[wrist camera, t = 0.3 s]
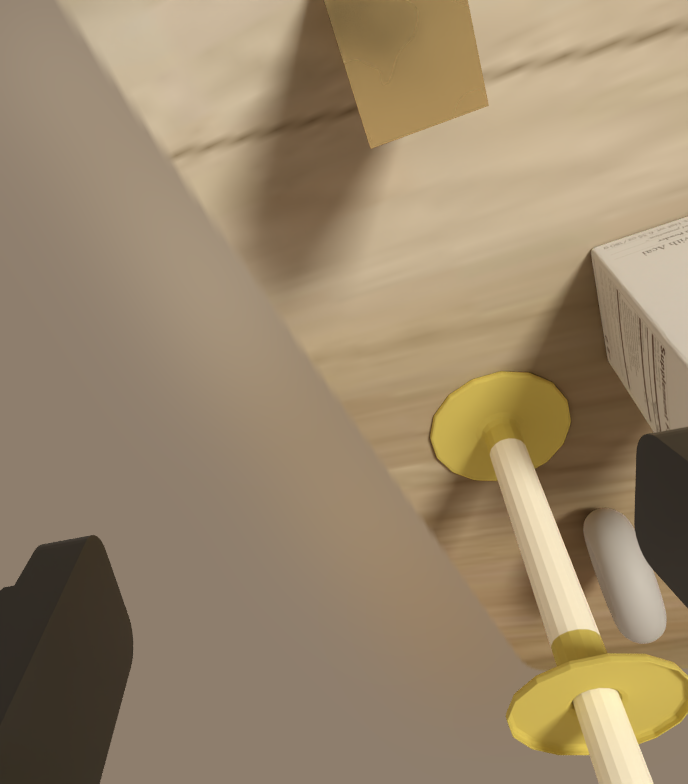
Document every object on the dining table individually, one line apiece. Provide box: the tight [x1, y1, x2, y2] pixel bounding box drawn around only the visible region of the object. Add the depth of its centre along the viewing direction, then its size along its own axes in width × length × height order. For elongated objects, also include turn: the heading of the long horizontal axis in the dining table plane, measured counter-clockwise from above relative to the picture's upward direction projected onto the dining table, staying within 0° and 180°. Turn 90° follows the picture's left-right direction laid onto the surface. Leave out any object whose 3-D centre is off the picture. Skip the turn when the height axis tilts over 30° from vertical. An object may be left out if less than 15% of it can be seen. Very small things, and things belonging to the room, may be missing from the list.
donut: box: [583, 508, 666, 643], centre depth 48 cm, size 10×4×10 cm, turn 22°
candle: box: [430, 371, 688, 784], centre depth 30 cm, size 10×10×38 cm
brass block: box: [324, 0, 489, 149], centre depth 25 cm, size 4×5×13 cm
